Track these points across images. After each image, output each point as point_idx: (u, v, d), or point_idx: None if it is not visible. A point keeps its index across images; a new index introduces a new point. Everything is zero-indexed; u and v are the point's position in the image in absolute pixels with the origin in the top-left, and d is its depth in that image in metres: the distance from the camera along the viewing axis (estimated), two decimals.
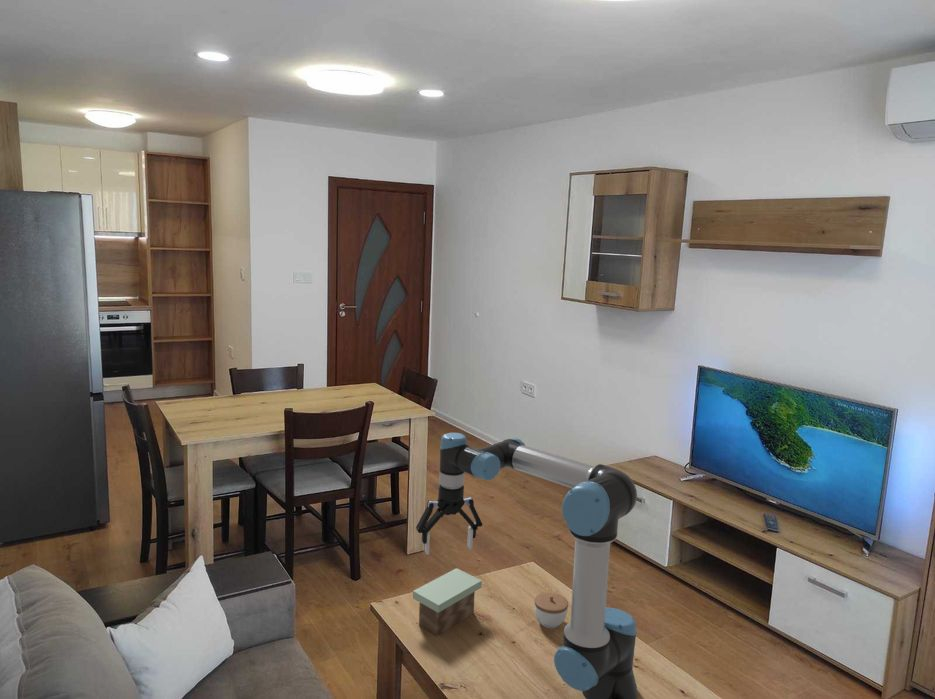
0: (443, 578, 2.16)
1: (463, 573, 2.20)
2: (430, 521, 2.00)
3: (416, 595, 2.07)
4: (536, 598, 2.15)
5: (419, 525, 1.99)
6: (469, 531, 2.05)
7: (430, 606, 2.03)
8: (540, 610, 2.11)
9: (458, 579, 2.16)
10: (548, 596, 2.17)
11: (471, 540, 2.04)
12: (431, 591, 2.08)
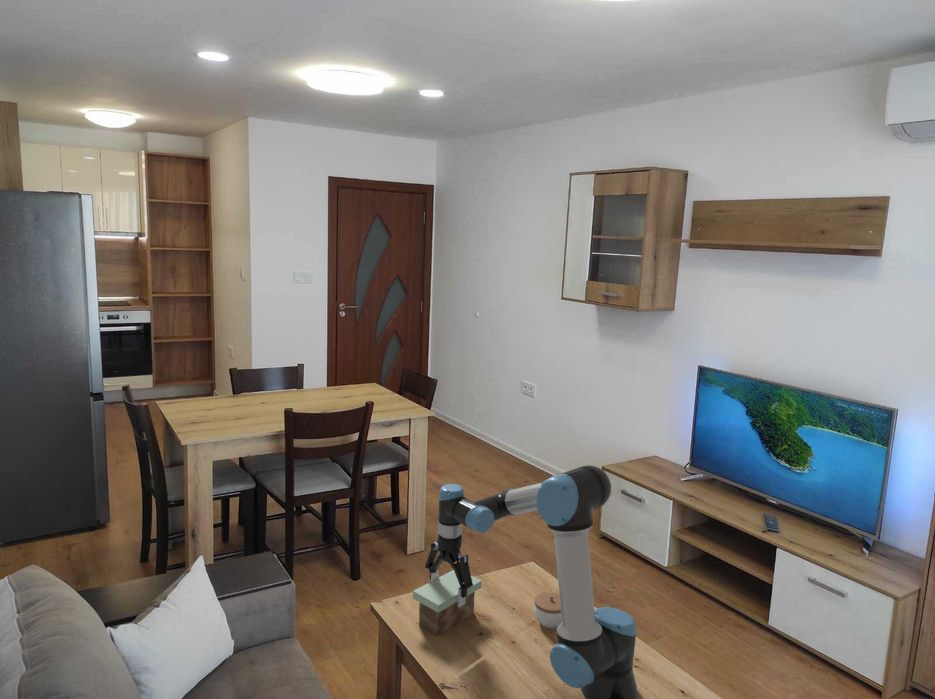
0: (443, 578, 2.16)
1: None
2: None
3: (416, 595, 2.07)
4: (536, 598, 2.15)
5: None
6: None
7: (430, 606, 2.03)
8: (540, 609, 2.11)
9: None
10: (548, 596, 2.17)
11: (458, 598, 2.07)
12: (431, 591, 2.08)
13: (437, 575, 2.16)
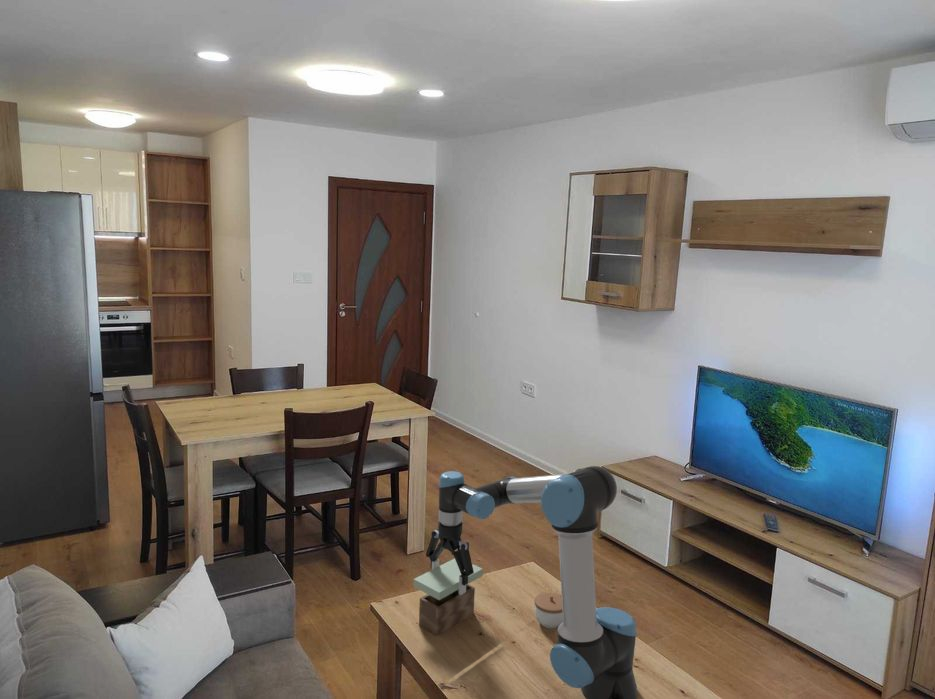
0: (444, 566, 2.15)
1: None
2: None
3: (417, 583, 2.06)
4: (536, 598, 2.15)
5: None
6: None
7: (431, 594, 2.03)
8: (540, 609, 2.11)
9: None
10: (548, 596, 2.17)
11: (459, 585, 2.06)
12: (432, 579, 2.08)
13: (438, 563, 2.15)
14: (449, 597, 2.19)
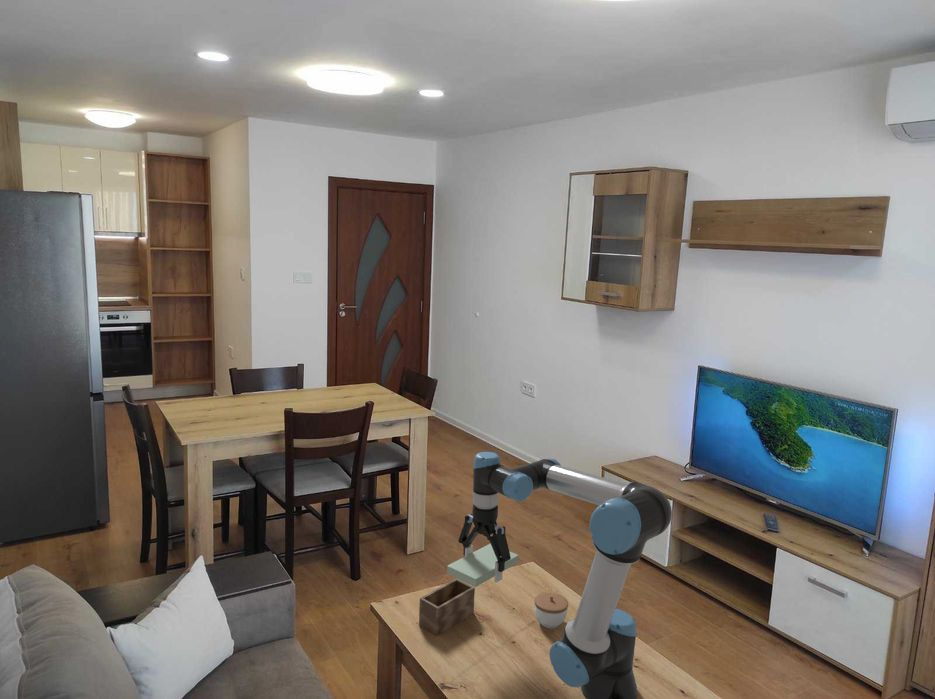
0: (477, 553, 2.04)
1: None
2: None
3: (450, 570, 1.96)
4: (536, 598, 2.15)
5: None
6: None
7: (467, 581, 1.92)
8: (540, 609, 2.11)
9: (494, 554, 2.04)
10: (548, 596, 2.17)
11: (495, 572, 1.96)
12: (466, 565, 1.97)
13: (471, 550, 2.04)
14: (449, 597, 2.19)
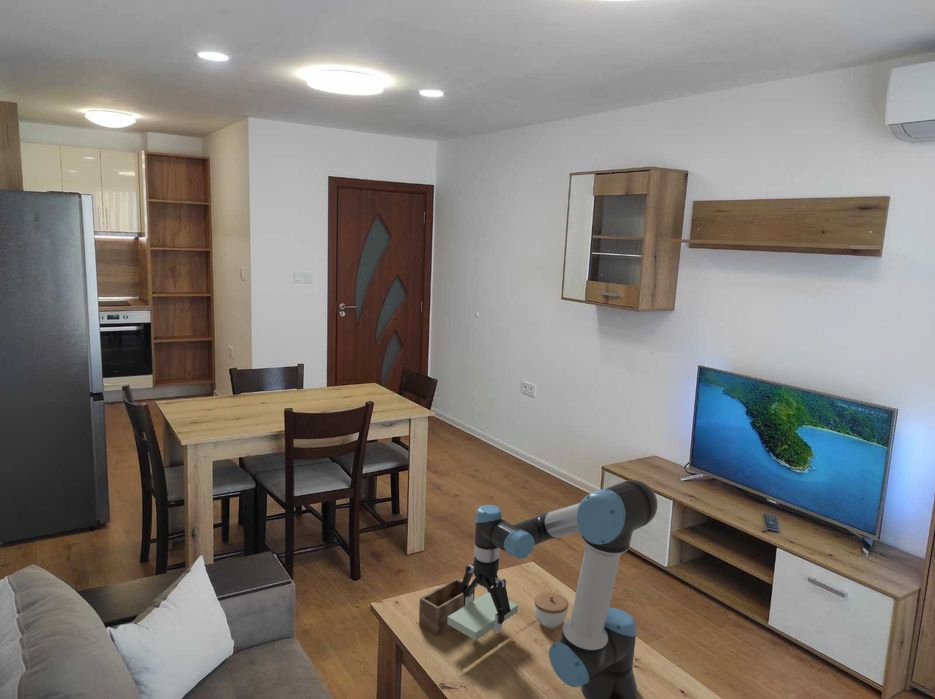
0: (478, 602, 2.07)
1: None
2: None
3: (451, 621, 1.98)
4: (536, 598, 2.15)
5: None
6: None
7: (467, 633, 1.94)
8: (540, 610, 2.11)
9: None
10: (548, 596, 2.17)
11: (495, 624, 1.98)
12: (467, 616, 1.99)
13: (471, 599, 2.07)
14: (449, 597, 2.19)
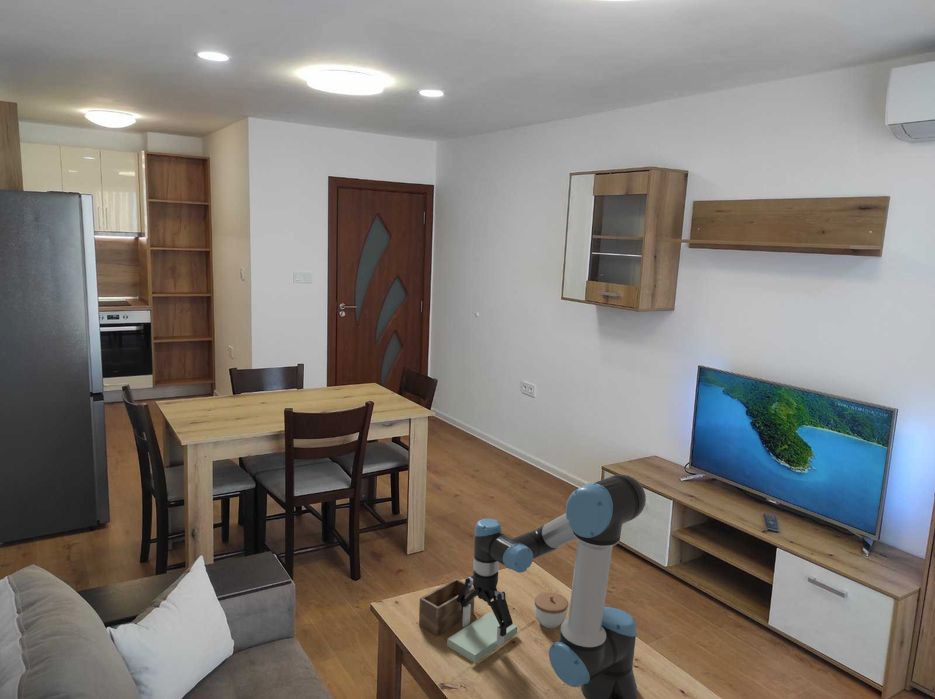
0: (477, 623, 2.08)
1: None
2: None
3: (451, 643, 1.99)
4: (536, 598, 2.15)
5: None
6: None
7: (466, 656, 1.95)
8: (540, 610, 2.11)
9: (493, 624, 2.08)
10: (548, 596, 2.17)
11: (497, 636, 1.98)
12: (466, 638, 2.00)
13: (469, 609, 2.08)
14: (449, 597, 2.19)
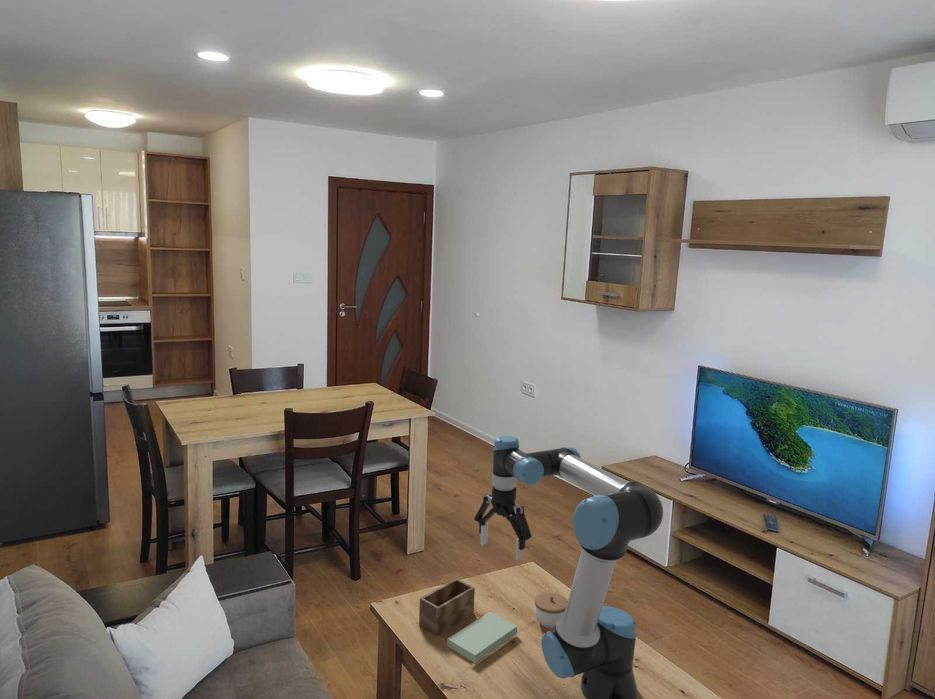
0: (477, 623, 2.08)
1: (497, 617, 2.12)
2: None
3: (451, 643, 1.99)
4: (536, 598, 2.15)
5: None
6: None
7: (466, 656, 1.95)
8: (540, 610, 2.11)
9: (493, 624, 2.08)
10: (548, 596, 2.17)
11: (516, 550, 2.02)
12: (466, 638, 2.00)
13: (487, 528, 2.12)
14: (449, 597, 2.19)
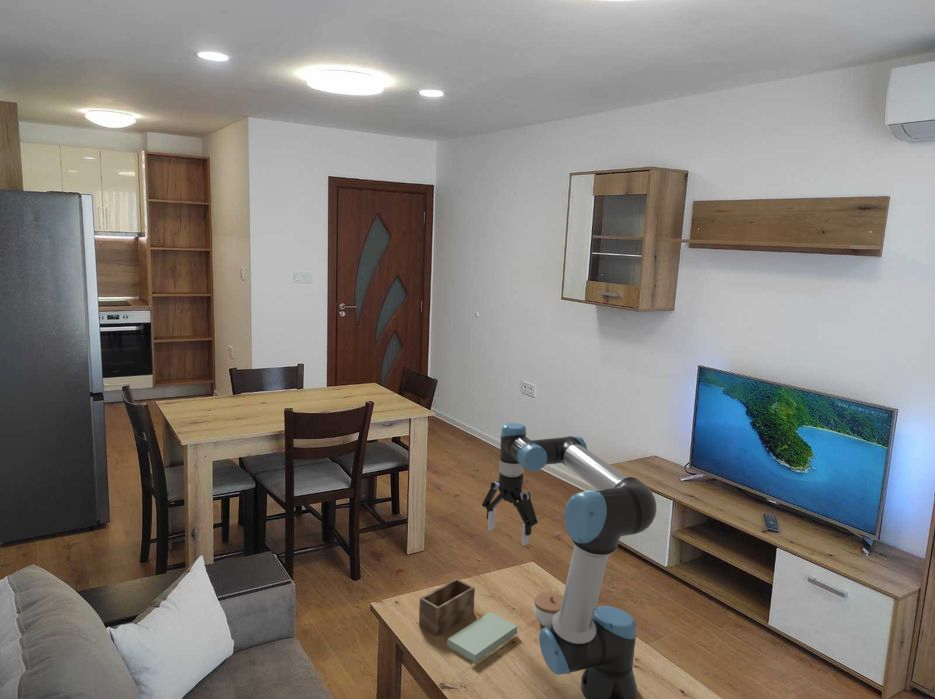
0: (477, 623, 2.08)
1: (497, 617, 2.12)
2: None
3: (451, 643, 1.99)
4: (536, 598, 2.15)
5: None
6: None
7: (466, 656, 1.95)
8: (540, 610, 2.11)
9: (493, 624, 2.08)
10: (548, 596, 2.17)
11: (523, 536, 2.06)
12: (466, 638, 2.00)
13: (494, 513, 2.15)
14: (449, 597, 2.19)
